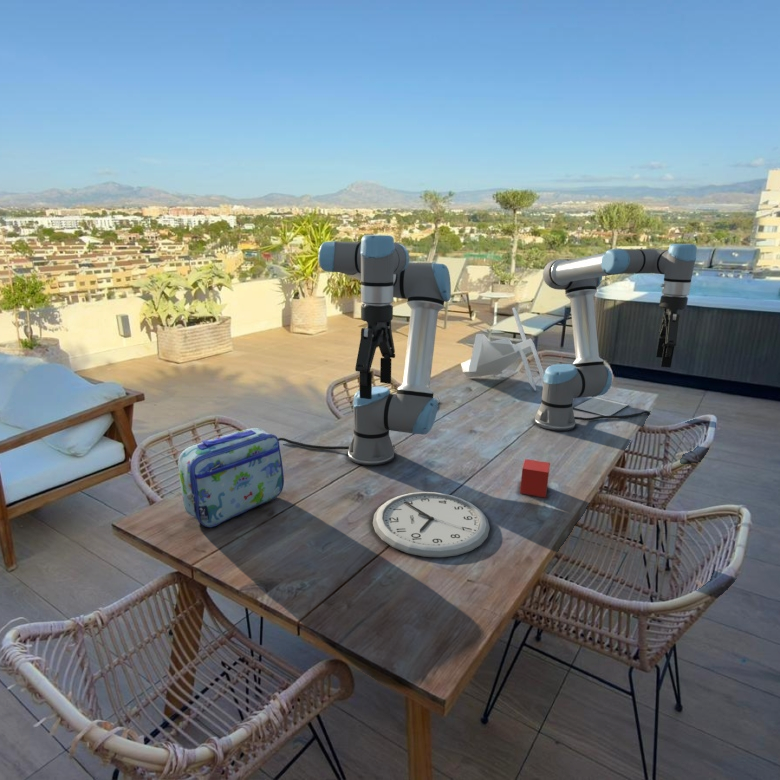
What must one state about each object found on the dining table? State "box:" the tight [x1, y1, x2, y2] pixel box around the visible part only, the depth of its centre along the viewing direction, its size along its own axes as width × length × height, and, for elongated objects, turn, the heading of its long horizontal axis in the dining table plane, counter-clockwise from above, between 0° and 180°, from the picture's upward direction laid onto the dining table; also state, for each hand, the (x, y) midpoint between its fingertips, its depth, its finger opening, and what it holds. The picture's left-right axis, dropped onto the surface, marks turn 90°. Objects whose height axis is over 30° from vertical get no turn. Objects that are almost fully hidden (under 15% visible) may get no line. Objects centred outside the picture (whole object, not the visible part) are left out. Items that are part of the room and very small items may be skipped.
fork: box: [434, 395, 442, 404], centre depth 223 cm, size 3×16×2 cm, turn 160°
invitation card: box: [573, 396, 629, 416], centre depth 226 cm, size 21×1×15 cm
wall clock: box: [372, 491, 490, 558], centre depth 135 cm, size 30×2×30 cm
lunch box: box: [177, 427, 285, 528], centre depth 137 cm, size 26×11×21 cm, turn 134°
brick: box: [519, 458, 551, 498], centre depth 152 cm, size 7×7×8 cm
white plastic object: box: [460, 307, 545, 391], centre depth 258 cm, size 37×45×31 cm
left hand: (376, 390), depth 129 cm, fingers open, 13 cm apart
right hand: (662, 362), depth 168 cm, fingers open, 13 cm apart
